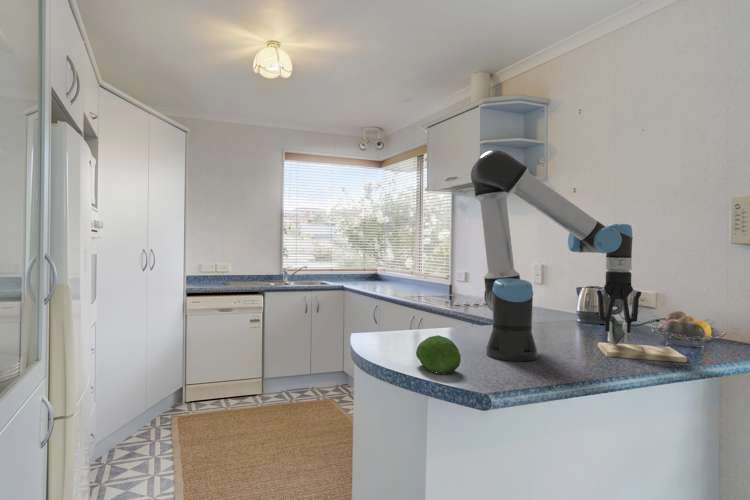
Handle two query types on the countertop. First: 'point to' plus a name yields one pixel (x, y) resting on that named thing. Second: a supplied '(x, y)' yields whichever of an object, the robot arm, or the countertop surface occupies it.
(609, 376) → the countertop surface
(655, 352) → the board
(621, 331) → the stone
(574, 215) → the robot arm
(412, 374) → the countertop surface
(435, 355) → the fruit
